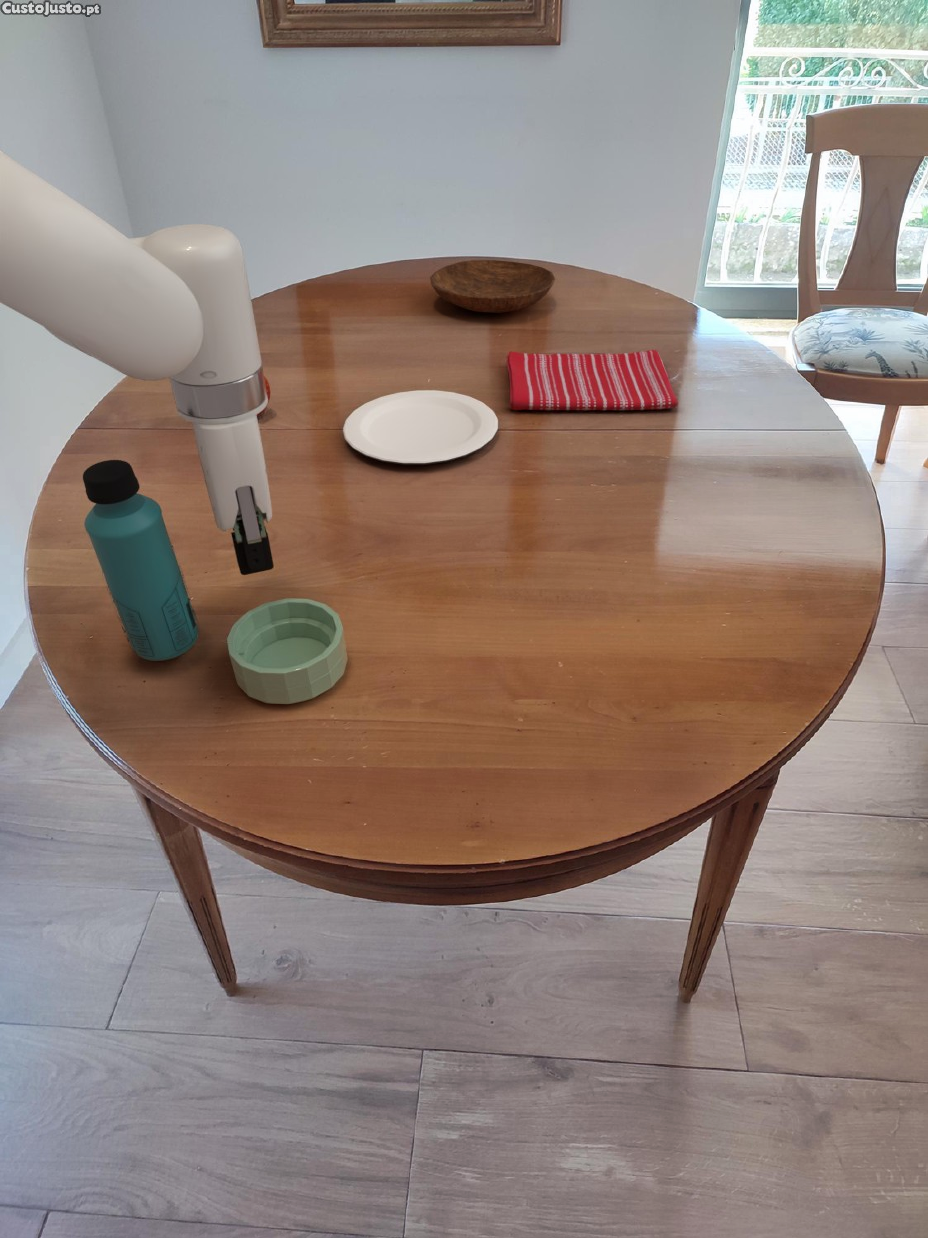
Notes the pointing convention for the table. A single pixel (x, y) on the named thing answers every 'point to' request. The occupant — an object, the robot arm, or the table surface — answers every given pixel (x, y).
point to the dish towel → (589, 381)
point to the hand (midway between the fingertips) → (256, 567)
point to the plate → (420, 427)
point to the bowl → (492, 285)
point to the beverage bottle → (138, 563)
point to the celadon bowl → (287, 650)
